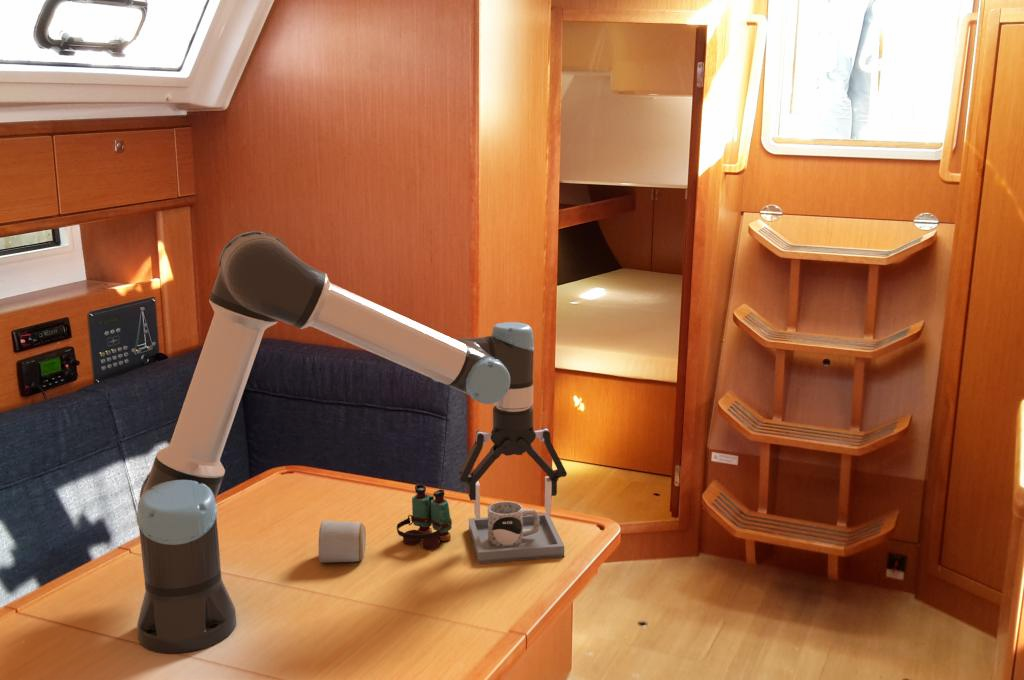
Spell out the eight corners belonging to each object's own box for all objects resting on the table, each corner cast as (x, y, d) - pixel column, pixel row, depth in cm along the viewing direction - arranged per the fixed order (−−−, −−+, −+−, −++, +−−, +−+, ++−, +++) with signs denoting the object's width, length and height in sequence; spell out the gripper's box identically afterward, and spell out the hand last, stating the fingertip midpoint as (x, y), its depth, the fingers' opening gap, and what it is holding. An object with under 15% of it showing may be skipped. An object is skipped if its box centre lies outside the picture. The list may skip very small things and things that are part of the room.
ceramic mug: (364, 567, 187) (362, 528, 186) (318, 569, 187) (316, 529, 185) (368, 544, 198) (366, 506, 196) (325, 546, 197) (323, 508, 196)
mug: (491, 549, 193) (491, 516, 191) (485, 535, 199) (484, 503, 198) (543, 544, 195) (543, 511, 193) (535, 530, 201) (535, 498, 200)
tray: (478, 563, 188) (478, 552, 188) (468, 529, 204) (468, 518, 203) (564, 557, 191) (564, 545, 190) (548, 523, 206) (548, 512, 206)
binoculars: (386, 500, 193) (418, 478, 201) (392, 550, 197) (423, 527, 204) (424, 509, 189) (455, 487, 197) (430, 560, 192) (460, 536, 200)
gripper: (574, 397, 197) (573, 502, 201) (444, 403, 193) (445, 509, 198) (583, 408, 189) (581, 517, 194) (447, 414, 186) (449, 524, 190)
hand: (512, 513), depth 196 cm, fingers open, 13 cm apart
